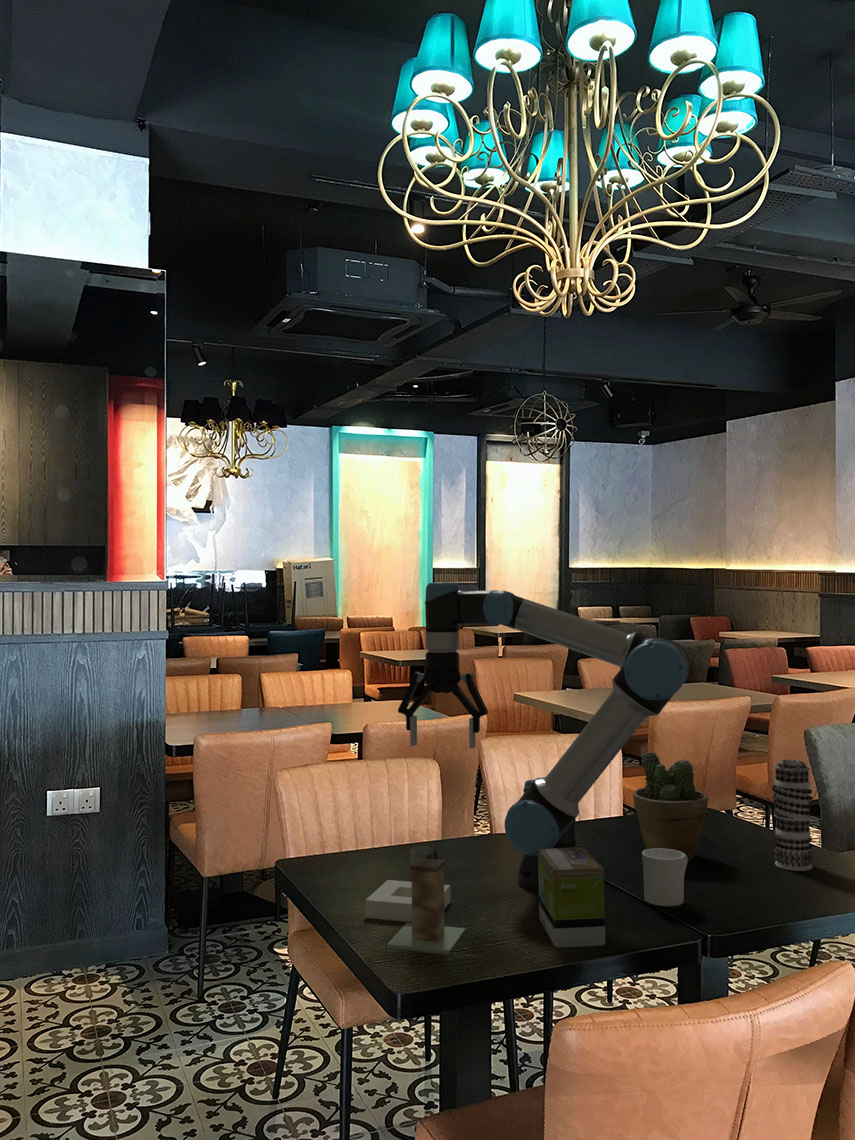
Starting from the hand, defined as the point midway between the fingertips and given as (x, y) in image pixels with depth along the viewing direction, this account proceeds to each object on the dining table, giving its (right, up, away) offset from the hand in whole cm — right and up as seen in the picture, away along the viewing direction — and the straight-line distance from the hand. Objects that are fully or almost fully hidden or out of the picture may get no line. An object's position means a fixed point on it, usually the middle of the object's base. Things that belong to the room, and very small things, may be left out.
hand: (442, 746), depth 209 cm
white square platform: (-7, -31, -15) cm, 36 cm away
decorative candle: (+85, -32, +17) cm, 92 cm away
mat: (-3, -31, -31) cm, 44 cm away
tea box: (+24, -31, -28) cm, 48 cm away
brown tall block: (-3, -30, -31) cm, 44 cm away
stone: (-4, -32, +2) cm, 32 cm away
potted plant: (+58, -33, +26) cm, 71 cm away
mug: (+48, -31, -10) cm, 58 cm away
